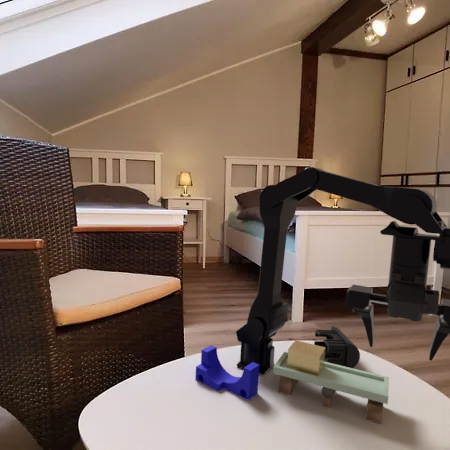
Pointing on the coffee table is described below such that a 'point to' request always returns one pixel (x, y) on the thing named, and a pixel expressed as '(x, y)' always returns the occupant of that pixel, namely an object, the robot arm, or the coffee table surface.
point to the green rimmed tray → (341, 379)
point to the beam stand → (373, 406)
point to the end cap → (338, 348)
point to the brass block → (306, 358)
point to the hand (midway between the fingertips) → (399, 352)
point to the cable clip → (226, 375)
